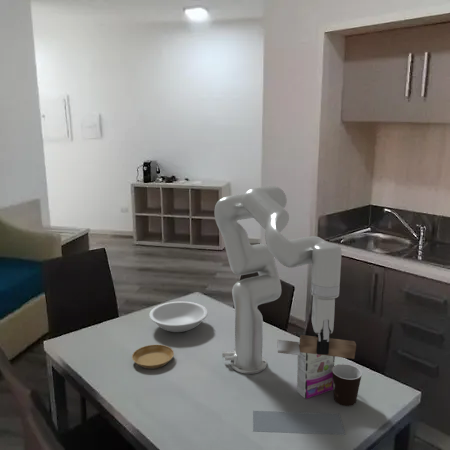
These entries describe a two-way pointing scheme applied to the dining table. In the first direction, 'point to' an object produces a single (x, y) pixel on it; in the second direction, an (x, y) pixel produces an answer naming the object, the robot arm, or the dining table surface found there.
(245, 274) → the robot arm
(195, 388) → the dining table surface
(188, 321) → the soup bowl
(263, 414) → the mat
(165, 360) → the plant saucer
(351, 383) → the coffee mug
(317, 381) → the candy bar box
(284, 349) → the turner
